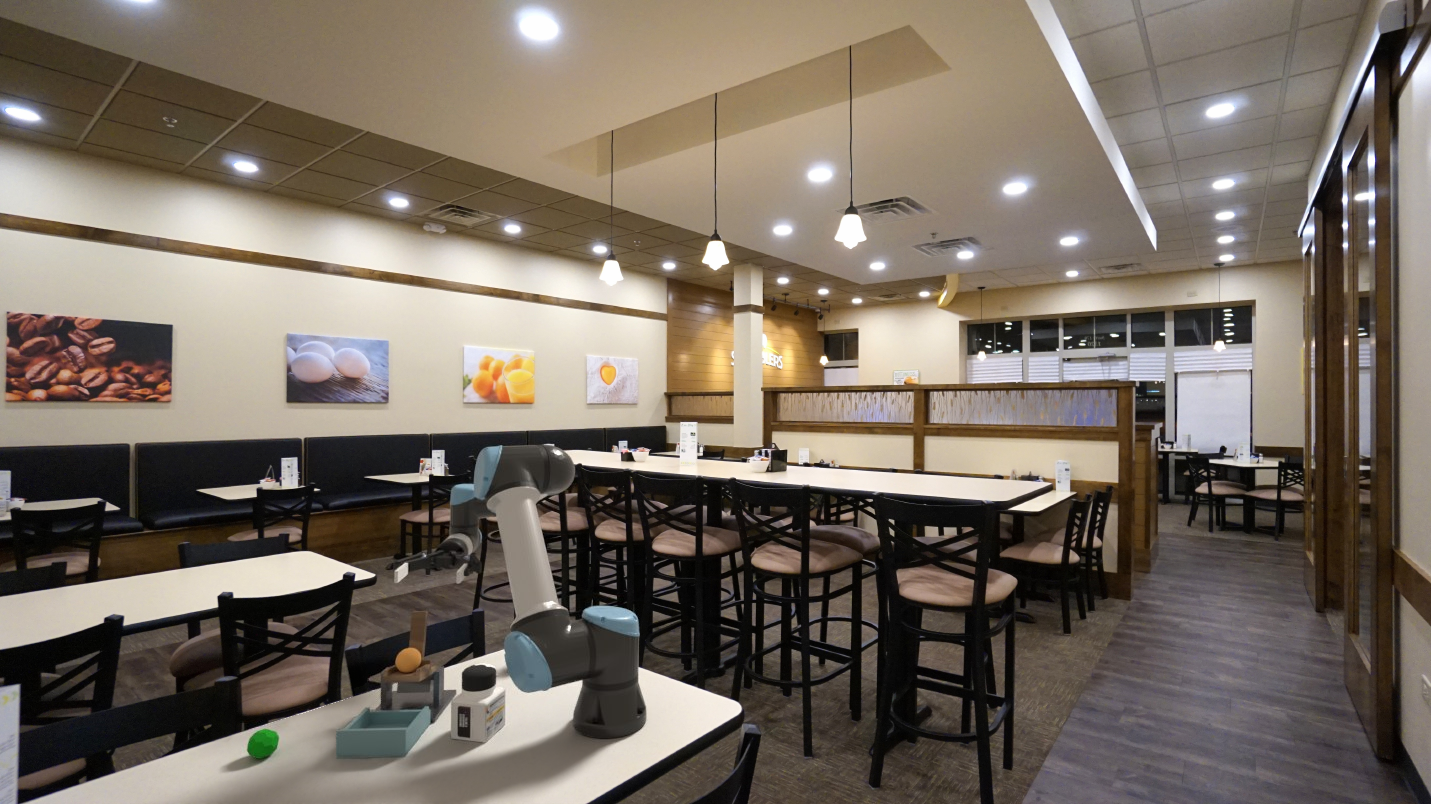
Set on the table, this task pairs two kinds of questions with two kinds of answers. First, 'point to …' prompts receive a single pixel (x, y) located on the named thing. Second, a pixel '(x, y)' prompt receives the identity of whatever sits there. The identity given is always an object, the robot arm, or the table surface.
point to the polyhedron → (263, 743)
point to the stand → (418, 697)
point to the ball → (408, 660)
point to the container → (478, 705)
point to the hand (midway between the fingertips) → (427, 577)
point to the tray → (382, 733)
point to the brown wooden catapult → (424, 673)
